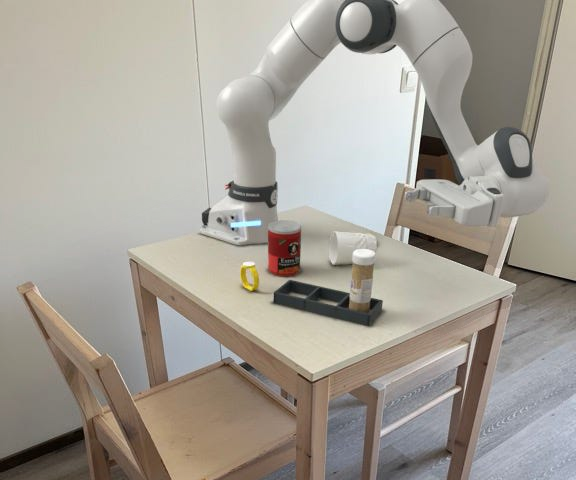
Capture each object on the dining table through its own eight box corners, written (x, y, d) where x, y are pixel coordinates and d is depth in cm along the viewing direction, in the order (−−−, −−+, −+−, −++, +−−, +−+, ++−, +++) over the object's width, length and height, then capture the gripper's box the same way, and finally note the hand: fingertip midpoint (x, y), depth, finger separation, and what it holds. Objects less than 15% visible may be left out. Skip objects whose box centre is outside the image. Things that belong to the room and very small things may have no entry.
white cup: (378, 262, 144) (338, 261, 142) (367, 266, 151) (329, 266, 149) (377, 228, 143) (337, 228, 141) (366, 235, 151) (328, 235, 149)
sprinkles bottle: (344, 310, 126) (348, 249, 118) (362, 306, 128) (368, 246, 120) (354, 320, 123) (360, 257, 115) (373, 316, 124) (380, 254, 117)
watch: (262, 292, 133) (262, 267, 130) (251, 295, 132) (251, 269, 129) (248, 282, 137) (247, 258, 134) (237, 285, 136) (236, 260, 133)
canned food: (279, 279, 139) (280, 233, 133) (261, 268, 145) (261, 223, 138) (306, 272, 143) (308, 227, 137) (288, 261, 148) (288, 218, 142)
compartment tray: (273, 303, 129) (273, 292, 127) (289, 289, 135) (289, 279, 133) (369, 326, 121) (370, 315, 119) (381, 310, 127) (382, 300, 125)
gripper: (452, 170, 131) (395, 174, 127) (508, 197, 115) (445, 202, 111) (447, 199, 134) (392, 203, 131) (501, 229, 118) (439, 235, 115)
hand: (417, 203), depth 121 cm, fingers open, 8 cm apart
